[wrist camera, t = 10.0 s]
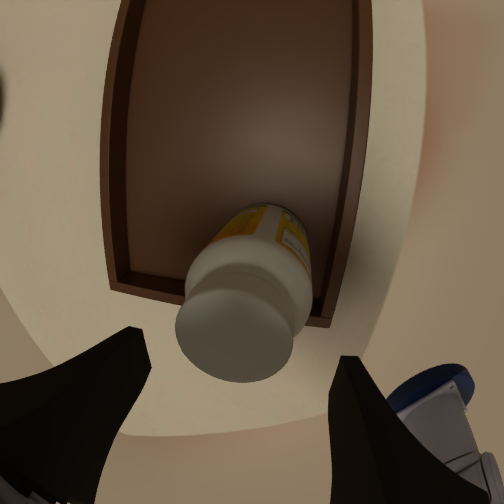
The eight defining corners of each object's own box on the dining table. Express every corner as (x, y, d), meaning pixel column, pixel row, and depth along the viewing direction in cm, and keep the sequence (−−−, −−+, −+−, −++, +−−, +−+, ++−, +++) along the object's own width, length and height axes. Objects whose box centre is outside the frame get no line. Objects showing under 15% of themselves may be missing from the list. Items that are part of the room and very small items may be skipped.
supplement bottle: (319, 217, 16) (344, 300, 8) (292, 292, 18) (285, 408, 10) (233, 191, 17) (163, 246, 8) (215, 268, 19) (154, 368, 10)
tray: (326, 307, 19) (329, 328, 17) (127, 274, 21) (110, 289, 18) (356, -61, 8) (361, -79, 6) (160, -57, 10) (147, -70, 7)
